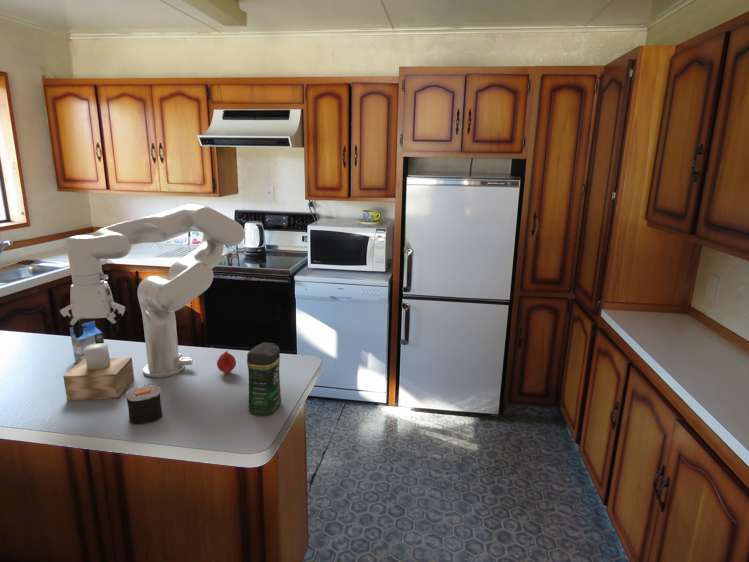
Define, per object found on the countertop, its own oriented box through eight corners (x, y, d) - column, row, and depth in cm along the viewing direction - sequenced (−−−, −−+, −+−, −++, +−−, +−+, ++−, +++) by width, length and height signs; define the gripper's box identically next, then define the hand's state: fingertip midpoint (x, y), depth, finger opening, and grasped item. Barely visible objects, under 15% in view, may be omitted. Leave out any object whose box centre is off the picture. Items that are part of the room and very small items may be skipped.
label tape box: (81, 363, 157) (76, 329, 154) (74, 361, 159) (69, 327, 156) (106, 354, 165) (101, 321, 162) (98, 352, 167) (94, 320, 164)
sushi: (165, 419, 125) (162, 392, 123) (130, 427, 120) (126, 399, 118) (160, 406, 131) (157, 380, 129) (127, 413, 127) (124, 387, 125)
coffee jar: (272, 418, 126) (270, 354, 122) (245, 415, 127) (241, 351, 123) (285, 401, 135) (283, 341, 131) (259, 398, 137) (257, 338, 132)
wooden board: (131, 359, 145) (131, 357, 145) (116, 376, 133) (116, 374, 133) (83, 360, 143) (83, 358, 143) (63, 378, 131) (63, 376, 131)
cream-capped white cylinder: (113, 361, 141) (110, 342, 140) (106, 369, 136) (102, 350, 134) (92, 362, 140) (88, 343, 139) (83, 371, 135) (80, 351, 133)
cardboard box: (134, 379, 146) (131, 359, 145) (119, 398, 135) (116, 376, 133) (86, 381, 145) (83, 360, 143) (67, 400, 133) (63, 378, 131)
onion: (213, 375, 150) (212, 352, 148) (225, 368, 156) (224, 346, 154) (228, 378, 148) (227, 355, 146) (240, 371, 154) (238, 349, 152)
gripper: (125, 274, 136) (133, 329, 141) (61, 276, 134) (72, 332, 139) (115, 281, 129) (123, 339, 134) (47, 283, 127) (59, 342, 131)
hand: (97, 335), depth 136 cm, fingers open, 9 cm apart
